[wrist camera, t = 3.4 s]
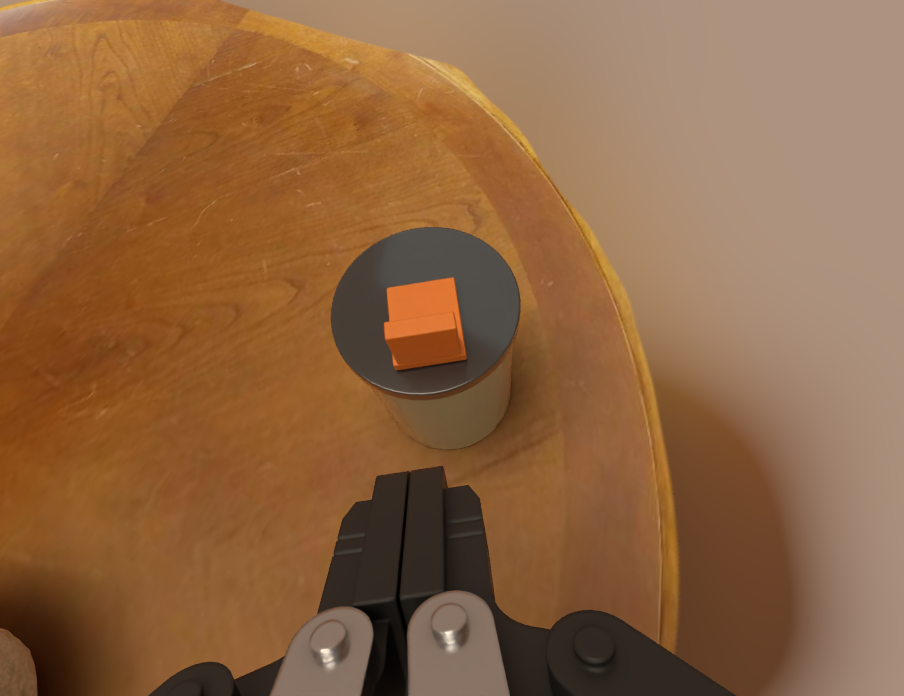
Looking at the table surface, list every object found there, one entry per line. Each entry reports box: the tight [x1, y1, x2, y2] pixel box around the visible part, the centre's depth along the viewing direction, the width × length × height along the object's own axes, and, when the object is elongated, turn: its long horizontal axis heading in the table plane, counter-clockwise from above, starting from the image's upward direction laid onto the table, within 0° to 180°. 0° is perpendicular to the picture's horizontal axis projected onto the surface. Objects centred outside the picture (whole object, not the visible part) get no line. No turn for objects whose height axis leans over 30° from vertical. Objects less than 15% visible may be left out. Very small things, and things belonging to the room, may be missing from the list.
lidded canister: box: [331, 227, 520, 450], centre depth 29 cm, size 9×9×12 cm
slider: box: [384, 277, 467, 370], centre depth 22 cm, size 4×3×3 cm
